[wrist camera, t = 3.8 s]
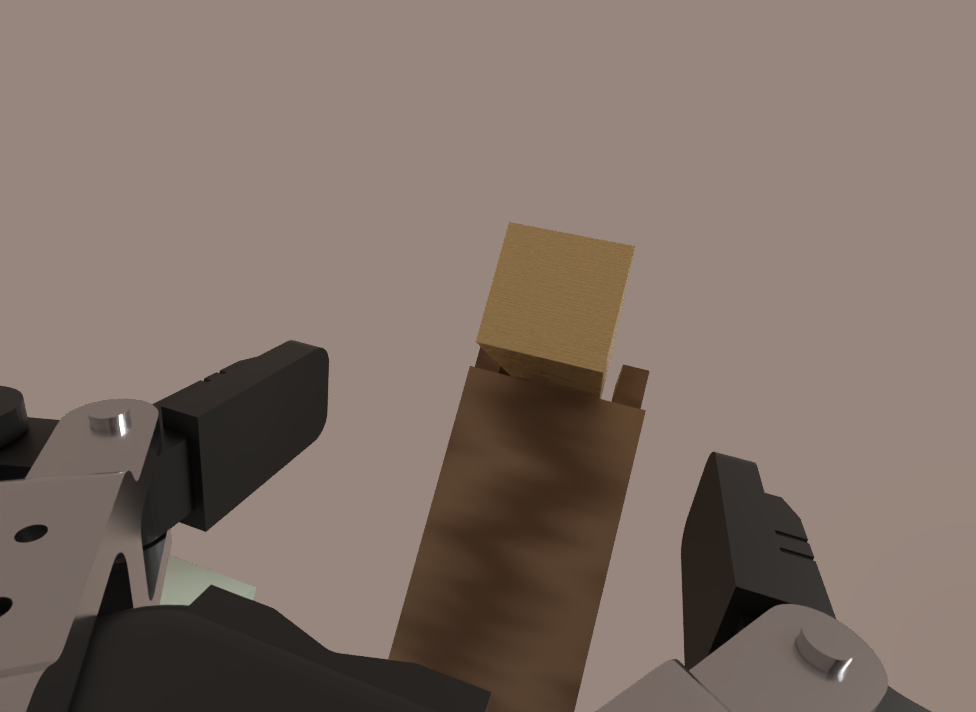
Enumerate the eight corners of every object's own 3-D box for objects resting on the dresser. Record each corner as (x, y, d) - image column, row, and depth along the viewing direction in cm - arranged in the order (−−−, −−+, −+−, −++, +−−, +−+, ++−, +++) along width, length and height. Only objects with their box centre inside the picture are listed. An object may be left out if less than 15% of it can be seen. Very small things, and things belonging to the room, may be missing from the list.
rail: (597, 413, 29) (613, 349, 30) (603, 372, 14) (634, 246, 15) (532, 397, 30) (549, 334, 30) (475, 341, 15) (509, 222, 16)
